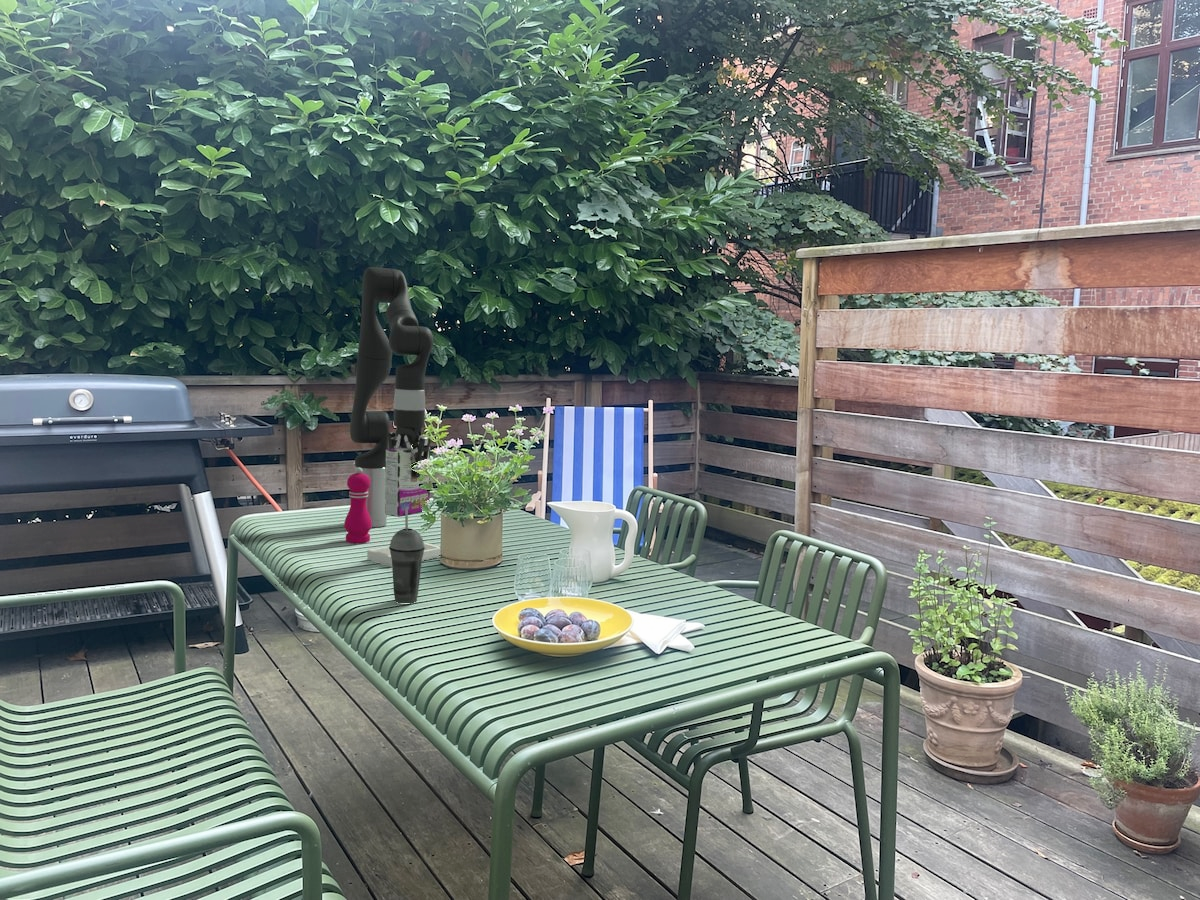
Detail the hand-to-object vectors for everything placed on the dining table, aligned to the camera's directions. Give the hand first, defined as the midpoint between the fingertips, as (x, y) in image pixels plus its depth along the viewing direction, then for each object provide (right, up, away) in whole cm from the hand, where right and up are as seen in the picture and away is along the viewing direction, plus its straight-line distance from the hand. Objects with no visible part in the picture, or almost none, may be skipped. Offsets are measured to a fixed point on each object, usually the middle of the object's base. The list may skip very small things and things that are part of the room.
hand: (407, 475), depth 219 cm
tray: (-1, -21, +2) cm, 21 cm away
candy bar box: (0, -10, +1) cm, 10 cm away
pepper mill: (-17, -18, +18) cm, 31 cm away
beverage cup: (+7, -26, -34) cm, 43 cm away
